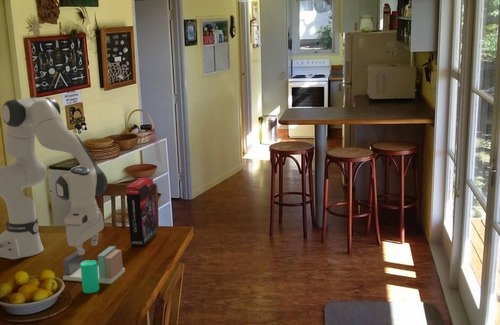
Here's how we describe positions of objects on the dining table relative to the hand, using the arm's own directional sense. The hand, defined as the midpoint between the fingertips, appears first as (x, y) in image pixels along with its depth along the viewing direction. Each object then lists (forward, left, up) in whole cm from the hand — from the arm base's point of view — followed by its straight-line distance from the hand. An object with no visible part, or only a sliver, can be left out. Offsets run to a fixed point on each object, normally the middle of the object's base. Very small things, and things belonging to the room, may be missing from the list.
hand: (88, 249), depth 216 cm
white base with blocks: (-5, +12, -16) cm, 20 cm away
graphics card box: (-2, +52, -16) cm, 54 cm away
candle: (0, 0, -16) cm, 16 cm away
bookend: (-14, +12, -14) cm, 23 cm away
